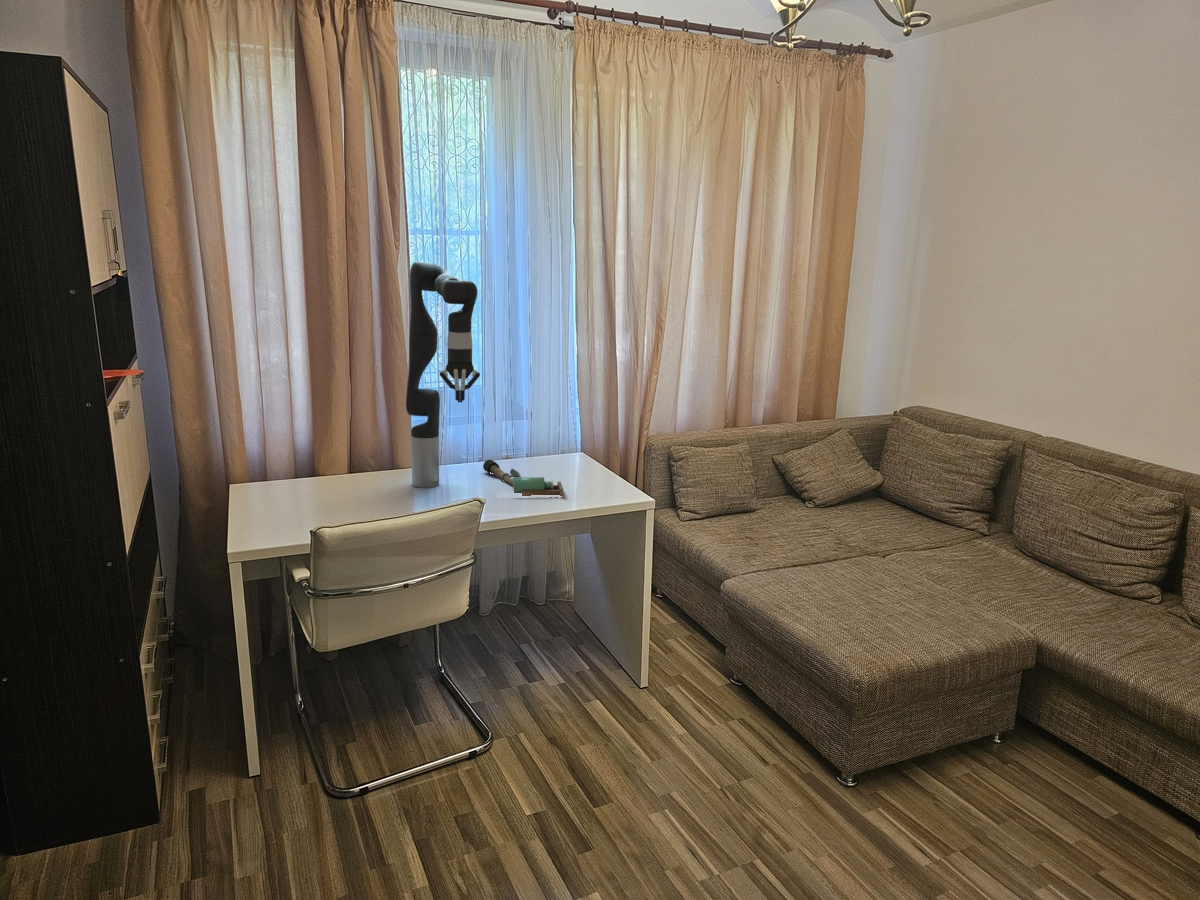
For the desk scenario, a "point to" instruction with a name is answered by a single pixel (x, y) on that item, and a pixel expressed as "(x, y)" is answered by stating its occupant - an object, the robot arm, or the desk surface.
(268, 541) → the desk surface
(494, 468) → the wall sconce
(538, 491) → the cradle
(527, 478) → the bottle
